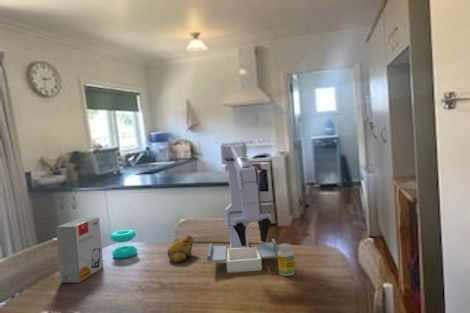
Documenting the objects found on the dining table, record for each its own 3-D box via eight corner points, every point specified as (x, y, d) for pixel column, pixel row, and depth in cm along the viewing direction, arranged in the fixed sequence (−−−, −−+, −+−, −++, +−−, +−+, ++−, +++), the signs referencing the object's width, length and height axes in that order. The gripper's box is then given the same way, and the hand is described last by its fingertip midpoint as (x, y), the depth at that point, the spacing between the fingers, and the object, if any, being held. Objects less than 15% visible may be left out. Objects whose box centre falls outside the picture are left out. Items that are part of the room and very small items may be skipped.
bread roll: (187, 264, 140) (185, 243, 139) (162, 264, 141) (160, 244, 140) (195, 252, 152) (194, 233, 152) (172, 253, 154) (171, 234, 153)
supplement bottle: (285, 268, 128) (283, 241, 127) (298, 272, 124) (296, 244, 123) (275, 273, 124) (273, 245, 124) (288, 277, 120) (286, 248, 120)
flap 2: (258, 245, 142) (257, 239, 142) (274, 244, 142) (274, 238, 142) (261, 258, 127) (261, 252, 127) (279, 257, 127) (279, 250, 127)
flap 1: (209, 248, 142) (209, 243, 142) (226, 247, 142) (225, 242, 142) (207, 262, 127) (207, 256, 127) (225, 261, 127) (225, 254, 127)
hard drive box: (79, 283, 128) (73, 227, 127) (60, 283, 130) (54, 227, 128) (104, 266, 143) (99, 216, 142) (86, 266, 145) (81, 216, 143)
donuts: (130, 234, 150) (106, 236, 150) (133, 258, 150) (108, 260, 151) (138, 228, 159) (115, 229, 160) (140, 250, 160) (117, 252, 161)
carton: (227, 258, 142) (226, 248, 142) (258, 256, 142) (257, 246, 142) (227, 272, 128) (226, 261, 128) (261, 270, 128) (261, 259, 128)
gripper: (236, 206, 118) (239, 249, 118) (274, 201, 125) (278, 241, 124) (226, 205, 125) (230, 246, 124) (264, 200, 131) (267, 238, 130)
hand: (253, 243), depth 125 cm, fingers open, 7 cm apart
